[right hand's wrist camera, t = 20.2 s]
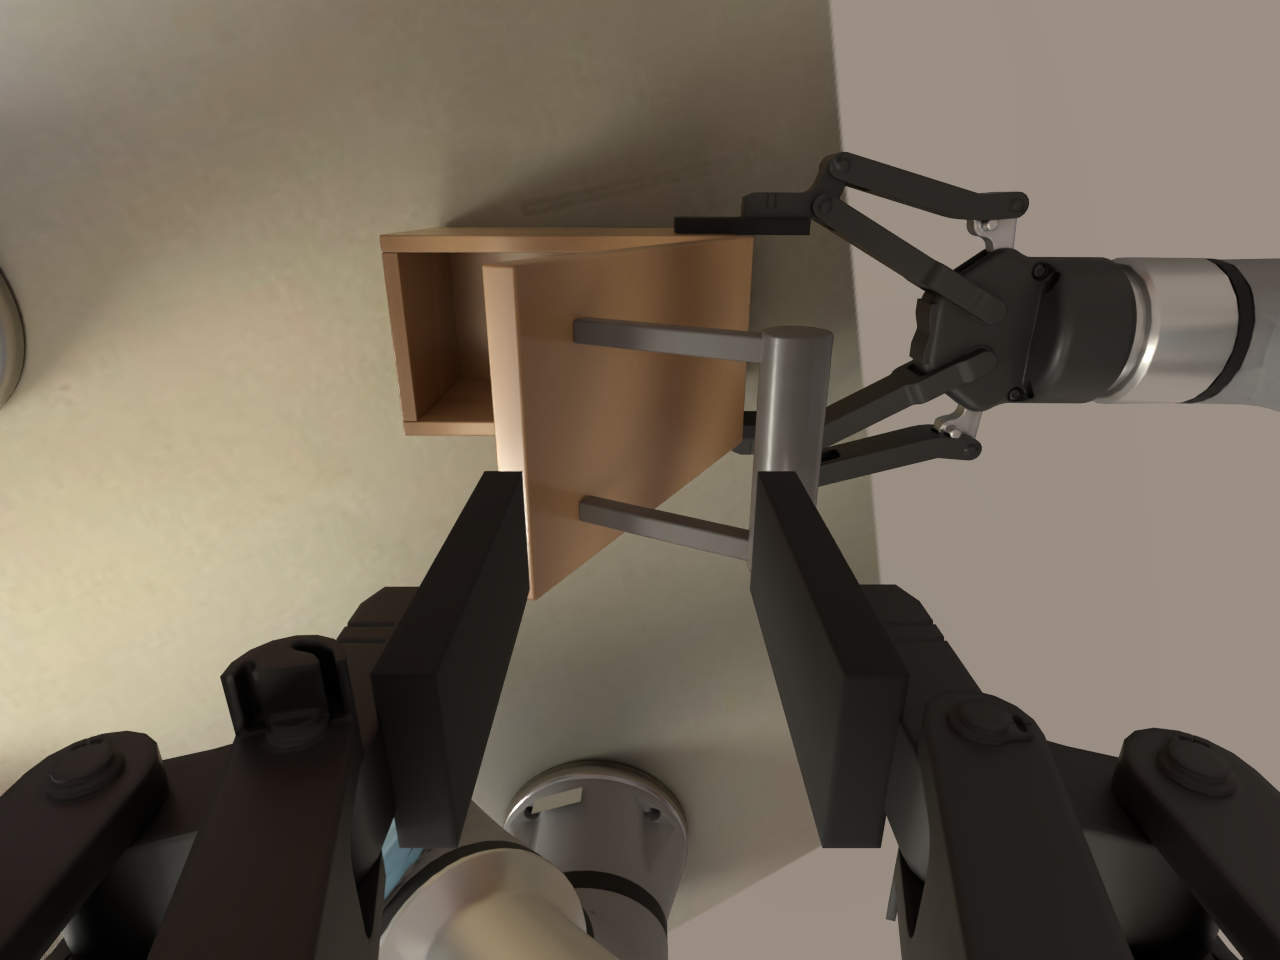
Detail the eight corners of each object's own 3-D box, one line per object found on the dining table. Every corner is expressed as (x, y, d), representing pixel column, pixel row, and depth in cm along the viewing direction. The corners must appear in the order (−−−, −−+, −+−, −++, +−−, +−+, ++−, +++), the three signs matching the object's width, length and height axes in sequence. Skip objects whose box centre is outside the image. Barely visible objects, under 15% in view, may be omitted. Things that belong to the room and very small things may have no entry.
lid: (505, 593, 22) (771, 675, 18) (480, 263, 18) (804, 280, 15) (722, 438, 36) (896, 467, 32) (731, 236, 33) (928, 241, 29)
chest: (452, 387, 46) (404, 436, 36) (437, 227, 42) (378, 234, 33) (712, 388, 46) (731, 436, 36) (719, 227, 42) (741, 235, 33)
